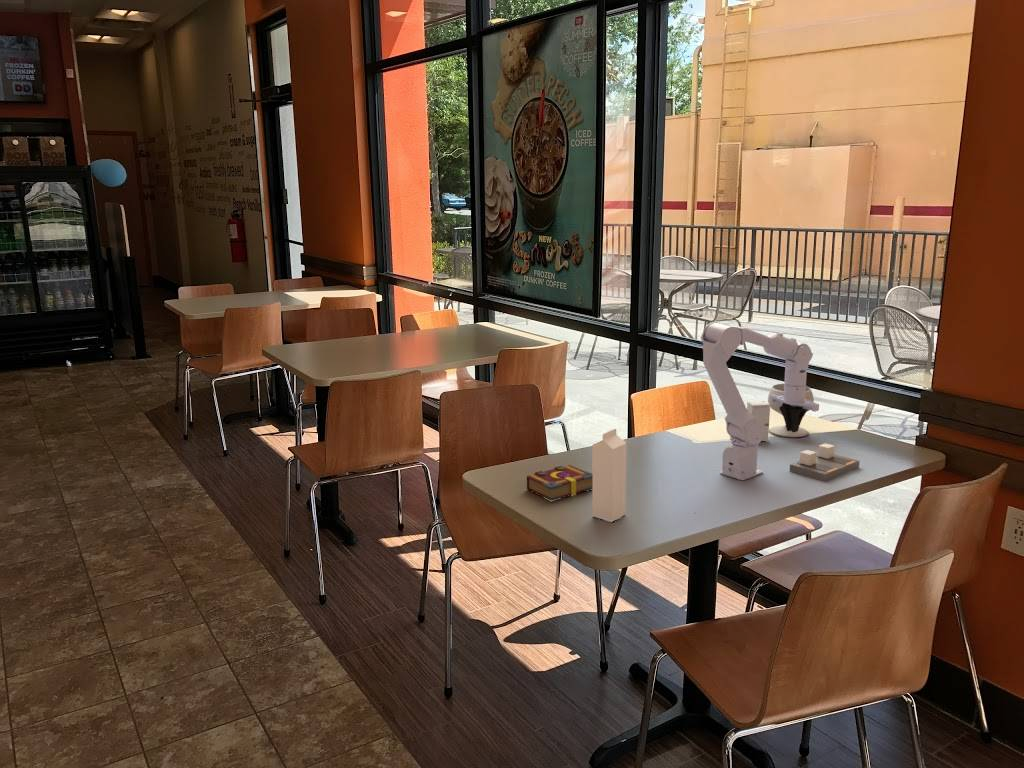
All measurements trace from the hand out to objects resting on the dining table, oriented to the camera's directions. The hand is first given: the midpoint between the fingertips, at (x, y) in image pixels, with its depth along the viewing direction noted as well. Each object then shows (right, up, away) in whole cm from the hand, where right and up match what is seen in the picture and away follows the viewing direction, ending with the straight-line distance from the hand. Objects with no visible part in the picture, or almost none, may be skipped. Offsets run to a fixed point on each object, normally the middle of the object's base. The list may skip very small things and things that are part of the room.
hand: (792, 430), depth 235 cm
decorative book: (-66, -16, -11) cm, 69 cm away
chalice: (+10, -3, +33) cm, 35 cm away
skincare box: (-2, -5, +26) cm, 27 cm away
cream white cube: (+4, -9, -2) cm, 10 cm away
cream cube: (+11, -8, +3) cm, 13 cm away
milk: (-56, -20, -30) cm, 66 cm away
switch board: (+9, -11, -1) cm, 14 cm away
